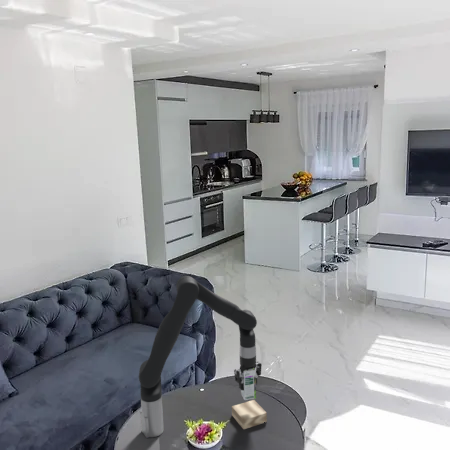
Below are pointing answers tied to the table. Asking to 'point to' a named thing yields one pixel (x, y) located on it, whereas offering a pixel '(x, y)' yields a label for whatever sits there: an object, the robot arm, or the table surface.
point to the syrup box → (249, 384)
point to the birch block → (249, 414)
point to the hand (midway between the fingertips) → (248, 387)
